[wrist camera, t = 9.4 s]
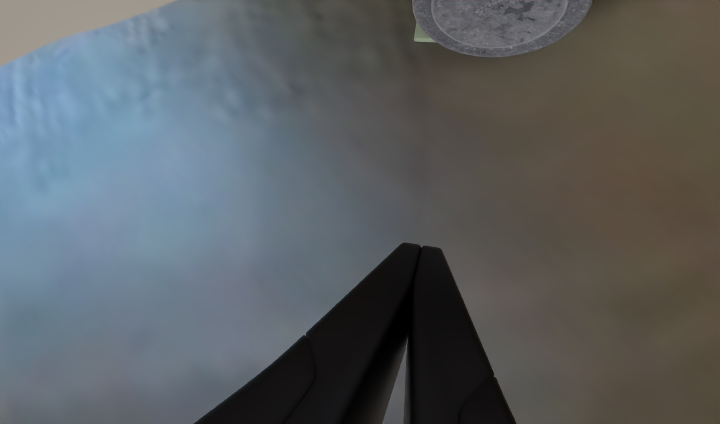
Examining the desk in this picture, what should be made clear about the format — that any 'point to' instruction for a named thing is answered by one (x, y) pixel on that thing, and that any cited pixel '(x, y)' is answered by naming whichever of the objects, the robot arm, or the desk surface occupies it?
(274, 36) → the desk surface
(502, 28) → the camera lens
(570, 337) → the desk surface
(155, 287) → the desk surface
